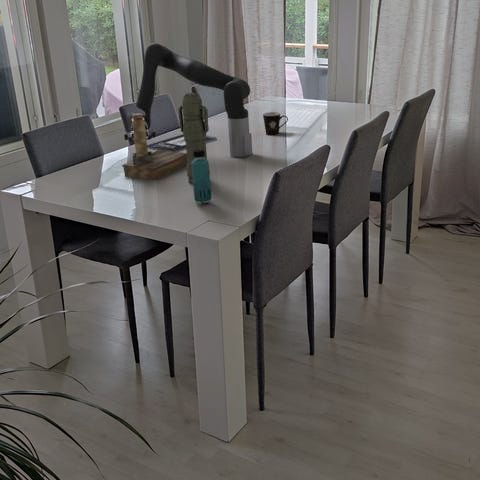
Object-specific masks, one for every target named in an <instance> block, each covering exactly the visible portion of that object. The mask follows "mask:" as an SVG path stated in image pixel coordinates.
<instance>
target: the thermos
mask: <svg viewBox="0 0 480 480" xmlns="http://www.w3.org/2000/svg"><path fill="white" fill-rule="evenodd" d="M182 97H183V98H182V101H181V102H182V103H181V105H180V106H179V107H178V119H179V128H180V131H181V133H182V134H184V140H185V142H186V149H185V150H186V153H187V161H188V164H187V165H186V172H187V173H186V175H187V177H188V178H187V179H188V181H187V182H188V184H190V185H193V175H192V165H191V162H192V161H193V160H194V159H196V158H205V159H206V160H208V153H207V143H206V135H207V133H208V132H209V131H210V130H209V129H210V128H209V115H208V114H209V113H208V108H207V107H206V105H205V106H204V105H203V100H202V98H201V95H200V94H199V93H197V92H188V93H187V92H186V93H185V94H183V96H182ZM196 149H203V150H204V153H205V156H203V157H194V156H193V151H194V150H196ZM208 165H209V166H210V164H209V163H208ZM210 174H211V173H209V175H210Z"/></svg>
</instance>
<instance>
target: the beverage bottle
mask: <svg viewBox="0 0 480 480" xmlns="http://www.w3.org/2000/svg"><path fill="white" fill-rule="evenodd" d="M193 156H194V157H203V156H205V153H204V150H203V149H196V150H194V151H193ZM208 164H209V160H208V159H207V160H206V159H205V158H196V159H194V160H193V161H192V162H191V165H192V175H193V184H192V185H193V186H192V187H193V198H194V201H195V202H196V203H197V202H198V203H206V202H209V201H211V200H212V197H213V196H212V195H213V194H212V187H211V178H210V177H211V176H210V175H209V173H210V164H209V165H208ZM210 174H211V173H210Z"/></svg>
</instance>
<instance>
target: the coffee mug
mask: <svg viewBox="0 0 480 480" xmlns="http://www.w3.org/2000/svg"><path fill="white" fill-rule="evenodd" d="M284 117H285V118H286V121H285V122H284V123H282V124H281V125H280V123H281V120H282V118H284ZM262 119H263V124H264V130H265V134H266V136H276V135H279V134H280V128H282V127H283V126H284V125H286V124H287V122H288V121H289V119H288V116H287V115H281V113H280V112H277V111H274V112H273V111H271V112H264V113H263V114H262Z"/></svg>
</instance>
